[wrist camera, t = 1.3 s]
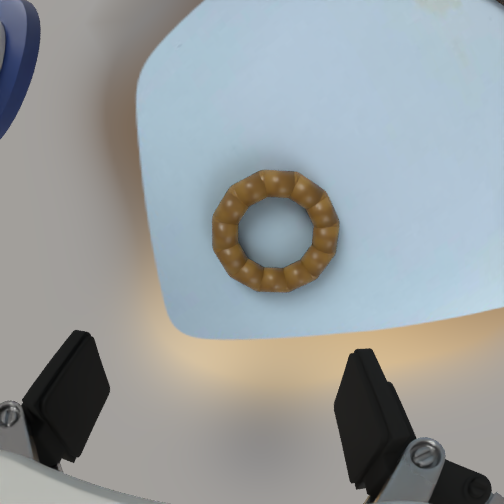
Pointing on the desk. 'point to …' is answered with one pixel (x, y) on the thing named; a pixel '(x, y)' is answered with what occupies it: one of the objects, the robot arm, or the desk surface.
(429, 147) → the desk surface
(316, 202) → the ring
